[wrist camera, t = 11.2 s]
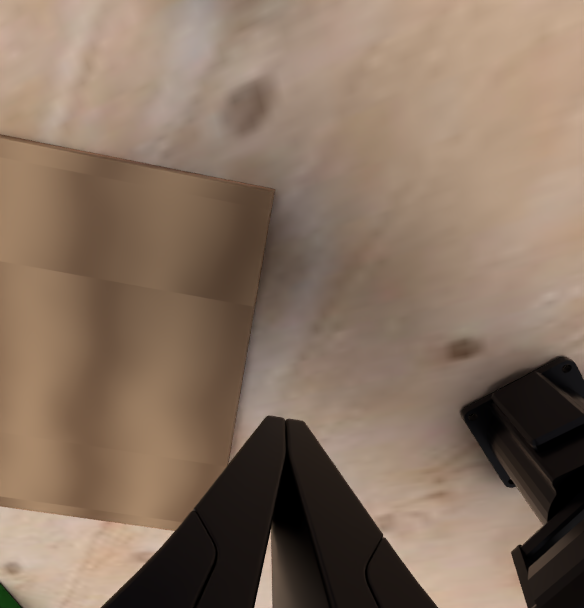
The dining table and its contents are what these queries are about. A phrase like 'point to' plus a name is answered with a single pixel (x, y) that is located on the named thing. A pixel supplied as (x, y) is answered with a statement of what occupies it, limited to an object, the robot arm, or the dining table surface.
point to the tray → (121, 331)
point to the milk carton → (7, 599)
